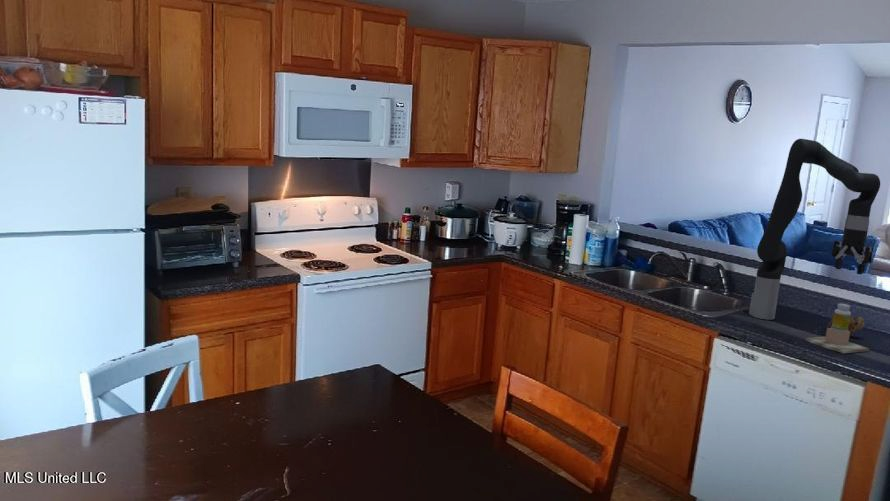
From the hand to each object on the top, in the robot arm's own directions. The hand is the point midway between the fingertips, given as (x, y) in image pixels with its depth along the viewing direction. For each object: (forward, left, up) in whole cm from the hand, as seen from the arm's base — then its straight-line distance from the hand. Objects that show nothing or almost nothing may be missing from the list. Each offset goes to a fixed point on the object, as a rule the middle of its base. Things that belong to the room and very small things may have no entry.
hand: (848, 271), depth 262 cm
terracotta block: (0, 0, -27) cm, 27 cm away
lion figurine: (-10, +18, -29) cm, 35 cm away
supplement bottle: (0, 0, -22) cm, 22 cm away
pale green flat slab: (0, 0, -28) cm, 28 cm away
